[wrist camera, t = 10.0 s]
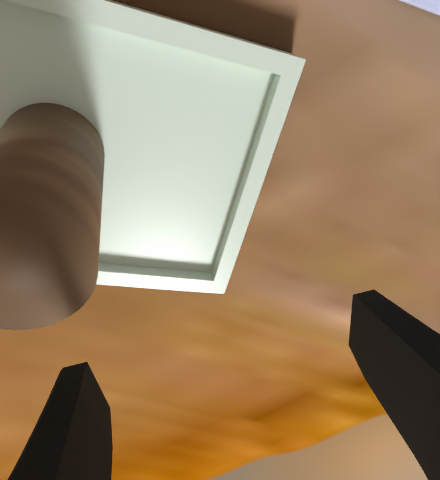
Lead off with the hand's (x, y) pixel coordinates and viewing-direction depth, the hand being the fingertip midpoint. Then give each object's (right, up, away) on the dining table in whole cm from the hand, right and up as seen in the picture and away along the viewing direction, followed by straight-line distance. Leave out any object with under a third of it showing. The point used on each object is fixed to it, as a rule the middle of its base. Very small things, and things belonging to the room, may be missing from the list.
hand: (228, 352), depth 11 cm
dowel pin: (-7, +7, +5) cm, 11 cm away
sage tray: (-7, +7, +6) cm, 12 cm away
